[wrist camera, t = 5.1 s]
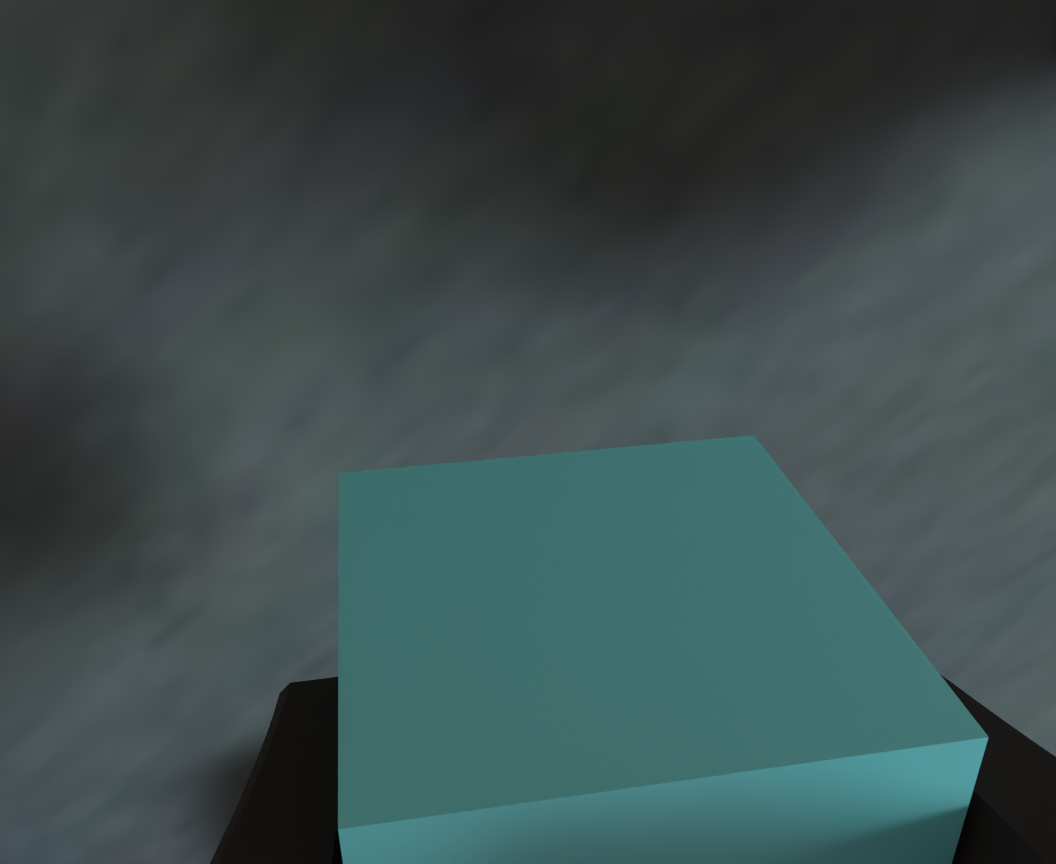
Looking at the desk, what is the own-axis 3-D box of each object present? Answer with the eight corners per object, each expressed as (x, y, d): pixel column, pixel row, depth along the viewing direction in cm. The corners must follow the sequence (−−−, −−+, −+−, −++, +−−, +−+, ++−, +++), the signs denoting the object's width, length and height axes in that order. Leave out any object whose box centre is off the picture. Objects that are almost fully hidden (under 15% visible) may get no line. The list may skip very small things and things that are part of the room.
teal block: (753, 435, 11) (988, 737, 7) (719, 735, 13) (883, 1095, 9) (338, 473, 10) (339, 830, 6) (374, 781, 12) (390, 1192, 8)
